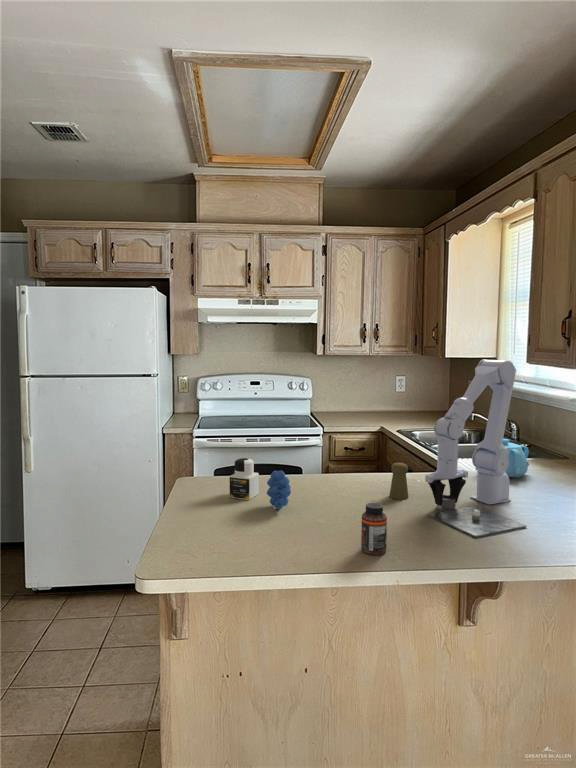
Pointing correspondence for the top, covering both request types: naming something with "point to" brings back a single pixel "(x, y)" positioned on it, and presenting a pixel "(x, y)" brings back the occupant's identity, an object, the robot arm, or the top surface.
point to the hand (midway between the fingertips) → (446, 503)
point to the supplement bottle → (374, 530)
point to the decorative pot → (516, 459)
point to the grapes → (278, 489)
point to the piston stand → (477, 521)
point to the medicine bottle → (244, 480)
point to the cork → (399, 482)
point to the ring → (447, 503)
